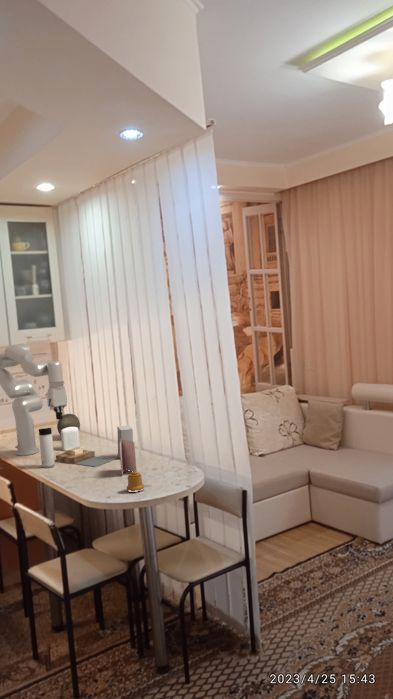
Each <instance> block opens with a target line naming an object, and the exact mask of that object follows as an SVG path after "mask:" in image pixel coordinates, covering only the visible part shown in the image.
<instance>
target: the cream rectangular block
mask: <svg viewBox="0 0 393 699" xmlns="http://www.w3.org/2000/svg"><path fill="white" fill-rule="evenodd" d="M83 450H84V449H83V448H81V447H80V448H74V447H71V448H68V449H65V450H63V453H65V454H69V455H78V454H81V453H83Z"/></svg>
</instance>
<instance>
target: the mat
mask: <svg viewBox="0 0 393 699" xmlns="http://www.w3.org/2000/svg"><path fill="white" fill-rule="evenodd" d="M115 460H116V459H115V458H111V457H104V456H103V457H102V456H95V457H92V458H89V459H87V460H84V461H81V462H78V463H75V464H74V465H79V466H86V467H90V468H91V467H92V468H96V467H100V466H101V465H104V464H107V463H110V462H113V461H115Z"/></svg>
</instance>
